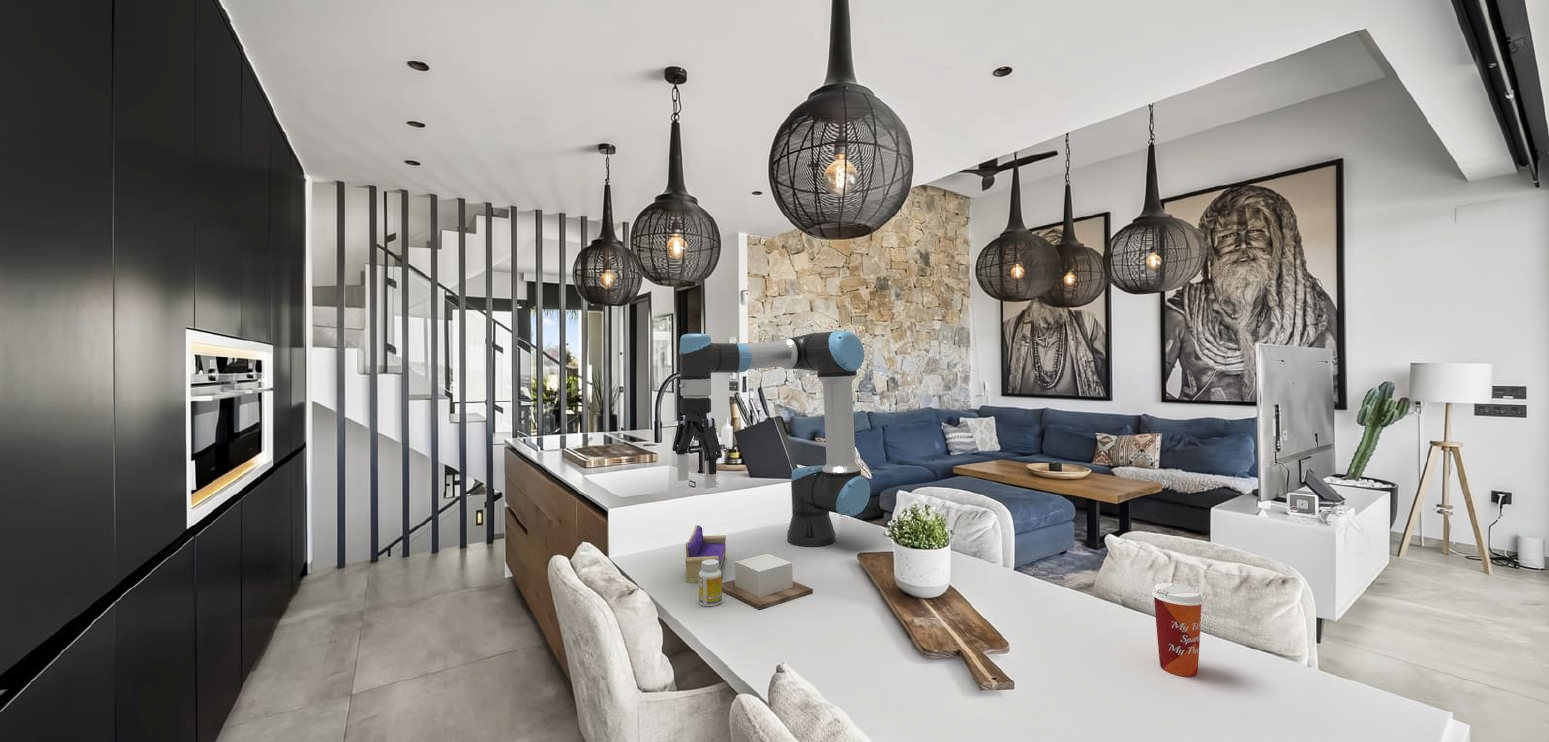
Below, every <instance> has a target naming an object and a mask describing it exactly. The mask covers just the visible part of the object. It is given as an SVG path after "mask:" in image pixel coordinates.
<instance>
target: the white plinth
mask: <svg viewBox="0 0 1549 742" xmlns="http://www.w3.org/2000/svg"><path fill="white" fill-rule="evenodd" d="M734 580H735V586H736V587H738V588H741V589H743V590H745V591H747V592H749V593H751V594H753V595H756V596H758V597H762V596H766V595H769V594H772V593H776V592H779V591H782V590H786V589H789V588H792V587H793V581H794V579H793V562H791V561H788V560H786V559H783V558H780V557H779V556H774V555H773V554H769V553H765V554H760V555H757V556H753V557H749V558H748V557H747V558H744V559H741V560H735V561H734Z"/></svg>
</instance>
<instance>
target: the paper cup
mask: <svg viewBox="0 0 1549 742" xmlns="http://www.w3.org/2000/svg"><path fill="white" fill-rule="evenodd" d="M1151 595H1152V596H1153V601H1154V602H1153V603H1154V612H1155V613H1154V614H1155V624H1156V634H1157V637H1156V639H1157V648H1158V657H1159V666H1160V669H1162V671H1165V672H1167V673H1169V674H1171V675H1173V676H1174V675H1175V676H1178V677H1185V678H1191V677H1196V676H1197V675H1198V673H1199V672H1198V671H1199V662H1200V661H1199V659H1200V643H1201V641H1200V638H1201V624H1202V623H1201V622H1202V604H1204V602H1205V601H1204V599H1203V597H1202V594H1201V592H1200V591H1199V590H1197V589H1196V588H1193V587H1192V586H1188V585H1184V584H1179V583H1173V582H1172V583H1171V582H1167V583H1165V582H1162V583H1158V584H1156V585H1155V586H1154V589H1153V590H1152V592H1151Z"/></svg>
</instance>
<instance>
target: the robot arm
mask: <svg viewBox="0 0 1549 742" xmlns="http://www.w3.org/2000/svg"><path fill="white" fill-rule="evenodd" d="M679 340H680V341H679V351H678V352H679V353H678V354H679V378H680V379H679V380H680V381H679V382H680V383H679V385H678V387H679V391H680V396H682V398H680V400H679V402H680V403H679V407H680V408H679V409H680V410H679V411H680V413H681V414H685V415H678V416H677V417H678V419H677V425H676V431H675V436H674V440H673V444H672V451H673V452H675V454H676V455H677V464H676V465H677V481H678V482H683V481H689V447H690V445H691V442H692V441H693V439H694V436H695V437H696V438H697V439H698V441H699V443H700V445H701V449H702V451H703V453H704V456H705V458H704V489H706V490H707V489H715V488H717V461H718V460H719V459H721V458H723V454H722V449H721V445H720V441H719V438H718V433H717V430H716V422H715V421H716V420H715V418H714V417H708V416H707V414H711V412H712V399H711V397H710V396H712V373H713V374H720V373H721V374H724V373H726V374H731V373H734V374H738V373H745V372H747V371H748V370H753V369H766V368H768V369H769V368H782V369H784V370H804V371H813V372H814V371H815V372H817V373H816V376H817V379H818V380H819V381H820V382H821V383H822V391H823V392H822V394H823V411H824V412H823V413H824V414H823V417H824V418H823V419H824V437H825V440H824V441H825V455H826V457H825V459H826V463H825V464H824V465H820V464H819V465H813V466H812V465H809V466H803V467H797V468H794V469H793V470H792V471H791V481H790V483H791V489H790V491H791V510H792V511H791V515H792V516H791V519H790V523H789V527H788V530H787V534H786V536H787V537H786V538H787V539H786V540H787V542H788V543H789V544H791V545H795V546H801V547H822V546H827V545H831V544H833V543H834V542H836V530H835V529H834V525H833V522H832V519H831V516H830V513H835V514H839V515H840V516H851V517H852V516H856V515H857V516H858V514H860V513H862V512H863V511H864V509H865V507H866V506H868V503H869V501H870V498H871V497H870V496H871V486H870V482H868V479H866V478H865V477H864V476H862V467H861V466H860V465H858V463H857V461H856V444H855V442H856V441H855V426H854V425H855V424H854V423H855V420H854V402H853V401H854V400H853V396H854V395H853V381H854V380H855V379H856V378H857V377H858V375H857V374H858V371H857V370H859V369H860V368H861V367H862V366H863V363H864V361H865V360H864V359H865V349H864V346H863V343H862V341H861V340H860V338H859V337H858V336H857V335H856V334H855V333H853V332H851V331H847V330H835V331H825V332H812V333H808V334H802V335H799V336H792V337H783V338H781V339H780V340H779V341H763V342H761V341H760V342H759V341H758V342H744V343H743V342H742V343H740V342H739V343H738V342H735V343H730V342H729V343H728V342H725V343H723V342H721V343H720V342H712V340H711V335H710V334H707V333H685V334H682V335H681V336H680V339H679Z"/></svg>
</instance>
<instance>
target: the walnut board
mask: <svg viewBox="0 0 1549 742" xmlns="http://www.w3.org/2000/svg"><path fill="white" fill-rule="evenodd" d="M722 593H725V594H727V595H728V596H730V597H733V599H737V600H739V601H741V602H742V603H744V604H746V605H748V606H751V607H753V608H754V609H757V610H759V611H761V610H763V608H764V609H767V608H770V607H773V606H777V605H780V604H782V603H786V602H789V601H792V600H795V599H799V598H802V597H805V596H808V595H812V594H813V593H814V589H813V588H811V587H809V586H807V585H805V584H802V583H799V582H797V581H794V580H793V587H792V588H789V589H786V590H782V591H779V592H776V593H772V594H769V595H766V596H762V597H758V596H756V595H753V594H751V593H749V592H747V591H745V590H743V589H741V588H738V587H736V586H735V579H732V580H728V581H725V582H722ZM760 609H761V610H760Z"/></svg>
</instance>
